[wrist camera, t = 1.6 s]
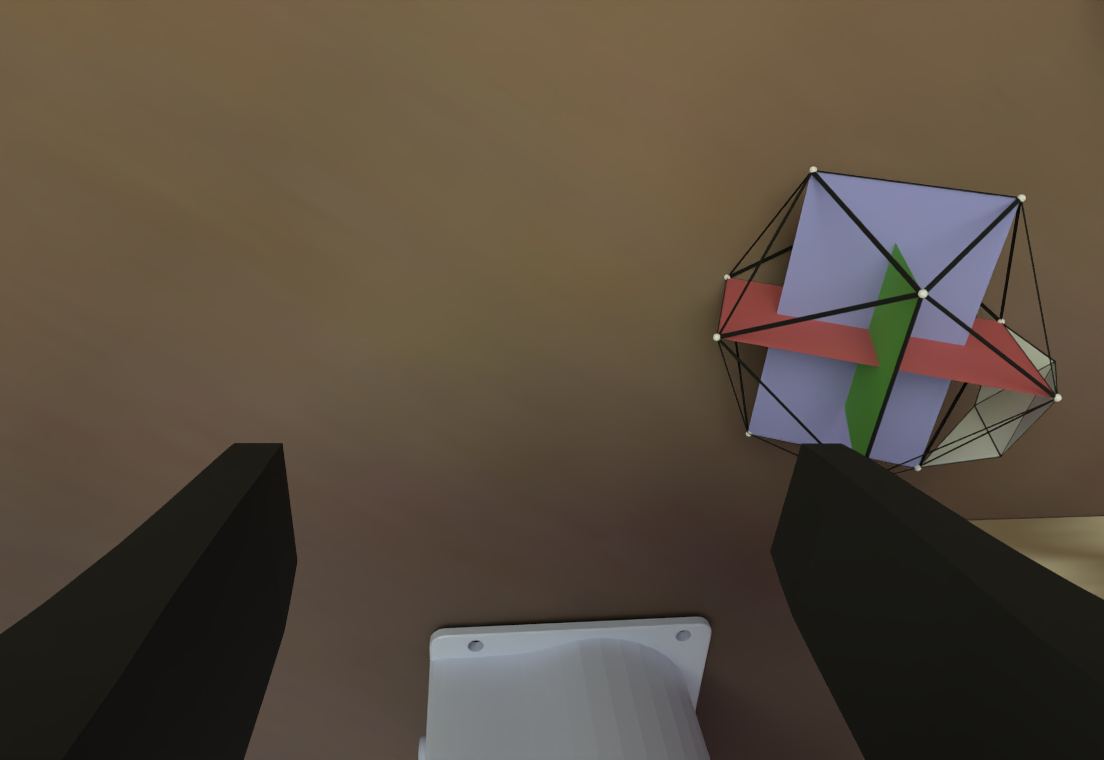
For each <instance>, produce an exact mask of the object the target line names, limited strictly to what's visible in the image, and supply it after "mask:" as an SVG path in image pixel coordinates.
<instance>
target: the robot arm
mask: <svg viewBox="0 0 1104 760" xmlns="http://www.w3.org/2000/svg"><path fill="white" fill-rule="evenodd" d="M770 552H771V555H772V558H773V561H774V564H775V567H776V571H777V574H778V577H779V580H780V583H781V586H782V589H783V591H784V594H785V597H786V600H787V602H788V605H789V608H790V611H791V613H792V616H793V618H794V620H795V622H796V624H797V626H798V628H799V630H800V632H801V634H802V636H803V638H804V640H805V642H806V644H807V646H808V648H809V650H810V652H811V654H812V656H813V658H814V660H815V662H816V664H817V666H818V668H819V670H820V672H821V674H822V676H823V678H824V680H825V682H826V684H827V686H828V688H829V690H830V692H831V694H832V696H833V697H834V699H835V701H836V703H837V705H838V707H839V709H840V711H841V713H842V715H843V717H844V719H845V721H846V723H847V725H848V727H849V729H850V731H851V733H852V735H853V737H854V739H855V741H856V742H857V744H858V746H859V748H860V750H861V752H862V754H863V756H864V758H865V760H1104V599H1102V598H1100V597H1098V596H1096V595H1094V594H1092V593H1091V592H1089V591H1087V590H1085V589H1083V588H1081V587H1079V586H1078V585H1076V584H1074V583H1072V582H1070V581H1068V580H1067V579H1065V578H1063V577H1062V576H1060V575H1058V574H1056V573H1055V572H1053V571H1051V570H1049V569H1048V568H1046V567H1044V566H1042V565H1041V564H1039V563H1037V562H1035V561H1034V560H1032V559H1030V558H1028V557H1027V556H1025V555H1023V554H1022V553H1020V552H1018V551H1016V550H1015V549H1013V548H1011V547H1010V546H1008V545H1006V544H1005V543H1003V542H1002V541H1000V540H998V539H997V538H995V537H993V536H992V535H990V534H988V533H987V532H985V531H983V530H982V529H980V528H979V527H977V526H975V525H974V524H972V523H971V522H969V521H967V520H966V519H964V518H963V517H961V516H959V515H958V514H956V513H955V512H953V511H952V510H950V509H948V508H947V507H945V506H944V505H942V504H941V503H939V502H937V501H936V500H934V499H933V498H931V497H930V496H928V495H926V494H925V493H923V492H922V491H920V490H919V489H917V488H915V487H914V486H912V485H911V484H909V483H908V482H906V481H905V480H903V479H901V478H900V477H898V476H897V475H895V474H893V473H892V472H890V471H889V470H887V469H885V468H884V467H882V466H881V465H879V464H877V463H876V462H874V461H872V460H871V459H869V458H867V457H866V456H864V455H862V454H860V453H859V452H857V451H855V450H853V449H851V448H849V447H847V446H846V445H844V444H842V443H802V444H801V447H800V451H799V454H798V458H797V461H796V465H795V468H794V472H793V475H792V478H791V482H790V485H789V489H788V492H787V496H786V499H785V503H784V506H783V509H782V513H781V516H780V520H779V523H778V527H777V530H776V534H775V537H774V540H773V544H772V547H771V551H770ZM296 566H297V554H296V546H295V538H294V530H293V523H292V515H291V507H290V499H289V491H288V483H287V475H286V467H285V459H284V451H283V444H282V443H234V444H233V445H232V446H230V447H229V448H228V449H227V450H226V451H224V452H223V453H222V454H221V455H220V456H219V457H218V458H217V459H215V460H214V461H213V462H212V463H211V464H210V465H209V466H208V467H206V468H205V469H204V470H203V471H202V472H201V473H200V474H199V475H197V476H196V477H195V478H194V479H193V480H192V481H191V482H190V483H188V484H187V485H186V486H185V487H184V488H183V489H182V490H181V491H180V492H178V493H177V494H176V495H175V496H174V497H173V498H172V499H171V500H169V501H168V502H167V503H166V504H165V505H164V506H163V507H162V508H160V509H159V510H158V511H157V512H156V513H155V514H154V515H152V516H151V517H150V518H149V519H148V520H147V521H145V522H144V523H143V524H142V525H141V526H140V527H138V528H137V529H136V530H135V531H134V532H133V533H131V534H130V535H129V536H128V537H127V538H126V539H124V540H123V541H122V542H121V543H120V544H119V545H117V546H116V547H115V548H113V549H112V550H111V551H110V552H108V553H107V554H106V555H105V556H103V557H102V558H101V559H100V560H98V561H97V562H96V563H94V564H93V565H92V566H91V567H89V568H88V569H87V570H86V571H84V572H83V573H82V574H80V575H79V576H78V577H77V578H75V579H74V580H73V581H72V582H70V583H69V584H68V585H66V586H65V587H64V588H63V589H61V590H60V591H59V592H58V593H56V594H55V595H54V596H53V597H51V598H50V599H49V600H47V601H46V602H45V603H43V604H42V605H41V606H39V607H38V608H36V609H35V610H34V611H32V612H31V613H30V614H28V615H27V616H26V617H24V618H23V619H21V620H20V621H18V622H17V623H16V624H14V625H13V626H11V627H10V628H9V629H7V630H6V631H4V632H3V633H1V634H0V760H244V757H245V754H246V751H247V748H248V745H249V741H250V738H251V735H252V732H253V729H254V726H255V723H256V720H257V716H258V713H259V710H260V707H261V704H262V701H263V698H264V695H265V692H266V688H267V685H268V682H269V679H270V676H271V673H272V669H273V666H274V663H275V660H276V657H277V653H278V650H279V647H280V644H281V641H282V637H283V634H284V631H285V626H286V620H287V615H288V610H289V605H290V600H291V594H292V589H293V583H294V577H295V572H296ZM683 630H685V631H683ZM680 631H683V632H680ZM710 638H711V627H710V625H709V622H708V621H707V620H706V619H705V618H703V617H678V618H656V619H635V620H613V621H592V622H570V623H549V624H527V625H505V626H484V627H462V628H444V629H439V630H437V631H435V632H434V633H433V634H432V635H431V637H430V672H429V692H428V712H427V731H426V735H424V736H421V737H420V741H419V754H418V760H710V757H709V754H708V751H707V748H706V745H705V741H704V738H703V735H702V732H701V729H700V726H699V723H698V719H697V716H696V713H695V710H696V705H697V700H698V696H699V691H700V686H701V681H702V677H703V672H704V667H705V662H706V657H707V653H708V648H709V643H710ZM475 640H477V641H480V642H471V641H475Z"/></svg>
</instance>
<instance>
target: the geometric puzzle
mask: <svg viewBox="0 0 1104 760" xmlns="http://www.w3.org/2000/svg"><path fill="white" fill-rule="evenodd" d="M809 171H810V173H809V174H808V175H807V177H806V178H805V179H804V180H803V182H802V183H801V184H800V185H799V187H798V188H797V189H796V191H795V192H794V193H793V194H792V196H791V197H790V198H789V199H788V201H787V202H786V203H785V204H784V206H783V207H782V208H781V209H780V211H779V212H778V213H777V215H776V216H775V217H774V218H773V220H772V221H771V222H770V223H769V225H768V226H767V227H766V228H765V230H764V231H763V232H762V234H761V235H760V236H759V237H758V239H757V240H756V241H755V242H754V244H753V245H752V246H751V247H750V249H749V250H748V251H747V253H746V254H745V255H744V256H743V258H742V259H741V260H740V261H739V263H738V264H737V265H736V266H735V268H734V269H733V270H732V272H731V273H730V274H729V275H728V274H726V275H725V276H724V279H725V280H726V285H725V291H724V297H723V303H722V308H721V314H720V320H719V326H718V331H717V334H714V336H713V339H714V340H715V341H718V344H719V347H720V350H721V353H722V356H723V360H724V363H725V366H726V369H727V372H728V375H729V378H730V381H731V384H732V387H733V390H734V386H733V383H732V380H731V377H730V374H729V371H728V368H727V365H726V362H725V359H724V355H723V352H722V349H721V346H720V343H721V344H722V345H723V346H724V347H725V348H726V349H727V350H728V351H729V352H730V353H731V354H732V355H733V356H734V357H735V358H736V359H737V361H738V368H739V375H740V383H741V390H742V398H743V405H744V413H745V421H746V424H745V421H744V418H743V414H742V411H741V408H740V405H739V402H738V399H737V396H736V393H735V390H734V394H735V397H736V400H737V403H738V406H739V409H740V412H741V415H742V418H743V421H744V424H745V427H746V431H747V432H746V436H748V437H750V436H751V435H752V436H754V435H756V436H761V437H766V438H770V439H775V440H780V441H785V442H790V443H795V444H800V445H801V444H802V443H842V444H844V445H846V446H847V447H849V448H851V449H853V450H855V451H857V452H859V453H860V454H862V455H864V456H866V457H867V458H869V459H874V460H879V461H884V462H889V463H894V464H898V465H896V466H894V467H892V468H889V469H887V470H891V469H893V468H896V467H898V466H901V465H903V466H908V467H913V469H915V470H916V471H920V470H921V468H923V467H930V466H938V465H946V464H953V463H961V462H968V461H976V460H984V459H991V458H999V457H1001V456H1002V455H1003V454H1004V453H1005V452H1006V451H1007V450H1008V449H1009V448H1010V447H1011V446H1012V445H1013V444H1014V443H1015V442H1016V441H1017V440H1018V439H1019V438H1020V437H1021V436H1022V435H1023V434H1024V433H1025V432H1026V431H1027V430H1028V429H1029V428H1030V427H1031V426H1032V425H1033V424H1034V423H1035V422H1036V421H1037V420H1038V419H1039V418H1040V417H1041V416H1042V415H1043V414H1044V413H1045V412H1046V411H1047V410H1048V409H1049V408H1050V407H1051V406H1052V405H1053V404H1054V403H1055V402H1058V401H1060V400H1061V399H1062V396H1061V395H1060V394H1058V391H1057V375H1056V361H1055V360H1053V359H1052V358H1051V357H1050V352H1049V346H1048V341H1047V335H1046V330H1045V324H1044V319H1043V313H1042V308H1041V302H1040V297H1039V291H1038V286H1037V280H1036V275H1035V269H1034V263H1033V258H1032V252H1031V247H1030V241H1029V236H1028V230H1027V225H1026V219H1025V214H1024V208H1023V203H1022V202H1024V201H1025V199H1026V197H1025V196H1024V195H1019V196H1017V197H1015V196H1007V195H1000V194H992V193H984V192H977V191H969V190H962V189H954V188H946V187H939V186H931V185H923V184H916V183H908V182H901V181H893V180H885V179H878V178H870V177H862V176H855V175H847V174H840V173H832V172H824V171H817V168H816V167H814V166H813V167H811V168H810V170H809ZM808 180H809V183H808V188H807V192H806V196H805V200H804V204H803V208H802V212H801V216H800V220H799V224H798V229H797V233H796V237H795V241H794V245H792V246H790V247H788V248H786V249H784V250H782V251H780V252H778V253H775V254H773V255H771V256H769V257H767V258H765V256H766V254H767V252H768V251H769V249H770V247H771V245H772V244H773V242H774V240H775V238H776V237H777V235H778V233H779V231H780V230H781V228H782V226H783V224H784V223H785V221H786V219H787V217H788V216H789V214H790V212H791V210H792V208H793V207H794V205H795V203H796V201H797V200H798V198H799V196H800V194H801V193H802V191H803V189H804V187H805V186H806V184H807V182H808ZM803 183H804V184H803ZM802 184H803V186H802ZM801 186H802V187H801ZM800 187H801V189H800V191H799V193H798V194H797V196H796V198H795V200H794V201H793V203H792V205H791V207H790V208H789V210H788V212H787V214H786V216H785V217H784V219H783V221H782V223H781V224H780V226H779V228H778V230H777V231H776V233H775V235H774V237H773V238H772V240H771V242H770V244H769V245H768V247H767V249H766V251H765V252H764V254H763V256H762V258H761V260H760V261H758V262H756V263H754V264H752V265H750V266H748V267H746V268H744V269H741V270H739V271H737V272H735V273H733V271H734V270H735V269H736V268H737V266H738V265H739V264H740V262H741V261H742V260H743V259H744V257H745V256H746V255H747V254H748V252H749V251H750V250H751V249H752V247H753V246H754V245H755V244H756V242H757V241H758V240H759V239H760V237H761V236H762V235H763V233H764V232H765V231H766V230H767V228H768V227H769V226H770V225H771V223H772V222H773V221H774V220H775V218H776V217H777V216H778V215H779V213H780V212H781V211H782V210H783V208H784V207H785V206H786V205H787V203H788V202H789V201H790V199H791V198H792V197H793V196H794V194H795V193H796V192H797V191H798V189H799V188H800ZM1021 206H1022V211H1023V217H1024V222H1025V228H1026V233H1027V239H1028V244H1029V250H1030V255H1031V261H1032V267H1033V272H1034V278H1035V283H1036V289H1037V294H1038V300H1039V305H1040V311H1041V316H1042V322H1043V327H1044V333H1045V338H1046V344H1047V349H1048V355H1049V356H1048V355H1046V354H1045V353H1044V352H1042V351H1041V350H1039V349H1038V348H1037V347H1035V346H1034V345H1032V344H1031V343H1030V342H1028V341H1027V340H1025V339H1024V338H1023V337H1021V336H1020V335H1019V334H1017V333H1016V332H1014V331H1013V330H1012V329H1010V328H1009V327H1007V326H1006V325H1005V324H1004V323H1005V320H1004V319H1002V317H1003V311H1004V305H1005V299H1006V293H1007V287H1008V281H1009V275H1010V268H1011V262H1012V256H1013V250H1014V244H1015V238H1016V232H1017V226H1018V220H1019V213H1020V207H1021ZM1016 210H1017V212H1016ZM1015 213H1016V218H1015V224H1014V230H1013V237H1012V243H1011V249H1010V256H1009V262H1008V268H1007V274H1006V281H1005V287H1004V293H1003V300H1002V306H1001V312H1000V319H999V318H998V317H997V316H996V315H995V314H994V313H993V312H992V311H991V310H990V309H988V308H987V307H986V306H985V305H984V304H983V303H982V299H983V297H984V294H985V291H986V289H987V286H988V283H989V281H990V278H991V276H992V273H993V270H994V268H995V265H996V263H997V260H998V257H999V255H1000V252H1001V250H1002V247H1003V244H1004V242H1005V239H1006V237H1007V234H1008V231H1009V229H1010V226H1011V223H1012V221H1013V218H1014V216H1015ZM791 249H792V253H791V257H790V261H789V265H788V270H787V274H786V278H785V282H784V286H776V285H770V284H764V283H758V282H752V279H753V277H754V275H755V274H756V272H757V270H758V268H759V267H760V265H761V263H764V262H766V261H768V260H770V259H772V258H774V257H776V256H778V255H781V254H783V253H785V252H787V251H789V250H791ZM764 258H765V259H764ZM755 266H757V267H756V268H755V270H754V272H753V274H752V275H751V277H750V279H749V281H746V280H740V279H733V278H732V277H734V276H736V275H738V274H740V273H742V272H744V271H747V270H749V269H751V268H753V267H755ZM732 273H733V274H732ZM980 306H981V307H982V308H983V309H984V310H986V311H987V312H988V313H989V314H990V315H991V316H992V317H993V318H994V319H995V320H996V321H992V320H985V319H979V318H975V317H976V315H977V312H978V310H979V307H980ZM721 339H726V340H732V341H735V345H736V353H737V355H736V354H735V353H734V352H733V351H732V350H731V349H730V348H729V347H728V346H727V345H726V344H725V343H724V342H723V341H722V340H721ZM737 341H738V342H743V343H749V344H754V345H760V346H765V347H768V352H767V356H766V360H765V364H764V368H763V372H762V376H761V380H760V379H759V378H758V377H757V376H756V375H755V374H754V373H753V372H752V371H751V370H750V369H749V368H748V367H747V366H746V365H745V364H744V363H743V362H742V361H741V360H740V358H739V352H738V345H737ZM719 342H720V343H719ZM740 364H741V365H742V366H743V367H744V368H745V369H746V370H747V371H748V372H749V373H750V374H751V375H752V376H753V377H754V378H755V379H756V380H757V381H758V382H759V383H760V384H759V388H758V393H757V397H756V401H755V405H754V409H753V413H752V417H751V421H750V425H749V428H748V420H747V413H746V405H745V398H744V390H743V382H742V375H741V367H740ZM951 380H955V381H961V382H964V384H963V386H962V388H961V389H960V391H959V393H958V395H957V396H956V398H955V400H954V402H953V403H952V405H951V407H950V409H949V410H948V412H947V414H946V416H945V417H944V419H943V421H942V423H941V424H940V426H939V428H938V430H937V431H936V433H935V435H934V437H933V438H932V440H931V442H930V444H929V445H928V447H927V449H926V451H925V452H924V450H925V448H926V445H927V443H928V440H929V437H930V435H931V432H932V430H933V427H934V424H935V422H936V419H937V416H938V414H939V411H940V409H941V406H942V403H943V401H944V398H945V396H946V393H947V390H948V388H949V385H950V383H951ZM967 383H972V384H978V385H981V386H980V389H979V393H978V396H977V399H976V402H975V405H974V407H973V408H972V409H971V410H970V411H969V412H968V413H967V414H966V415H965V417H964V418H963V419H962V420H961V421H960V422H959V423H958V424H957V425H956V427H955V428H954V429H953V430H952V431H951V432H950V433H949V434H948V435H947V436H946V438H945V439H944V440H943V441H942V442H941V443H940V444H939V445H938V446H937V447H936V449H934V450H932V451H930V452H929V450H930V448H931V446H932V445H933V443H934V441H935V439H936V438H937V436H938V434H939V432H940V431H941V429H942V427H943V425H944V424H945V422H946V420H947V418H948V417H949V415H950V413H951V411H952V410H953V408H954V406H955V404H956V403H957V401H958V399H959V397H960V396H961V394H962V392H963V390H964V389H965V387H966V385H967ZM756 436H754V437H756ZM756 438H758V439H761V438H759V437H756ZM761 440H763V439H761ZM763 441H765V440H763ZM765 442H767V443H770V442H768V441H765ZM770 444H772V443H770ZM772 445H774V444H772ZM774 446H776V447H779V446H777V445H774ZM779 448H781V447H779ZM781 449H783V448H781ZM783 450H785V451H787V452H790V451H788V450H786V449H783ZM931 452H932V453H931ZM790 453H792V452H790ZM923 453H924V454H923ZM929 453H931V454H930V455H929V456H928V457H927V458H926V460H925V461H924V462H923V460H924V459H925V457H926V455H927V454H929ZM792 454H794V455H796V456H798V455H797V454H795V453H792ZM922 462H923V463H922ZM909 470H912V469H909ZM905 471H908V470H905ZM905 471H901V472H905ZM901 472H897V473H901ZM897 473H893V474H897Z"/></svg>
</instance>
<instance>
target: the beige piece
mask: <svg viewBox="0 0 1104 760" xmlns="http://www.w3.org/2000/svg"><path fill="white" fill-rule="evenodd" d="M968 521H969V522H971V523H972V524H974V525H975V526H977V527H979V528H980V529H982V530H983V531H985V532H987V533H988V534H990V535H992V536H993V537H995V538H997V539H998V540H1000V541H1002V542H1003V543H1005V544H1006V545H1008V546H1010V547H1011V548H1013V549H1015V550H1016V551H1018V552H1020V553H1022V554H1023V555H1025V556H1027V557H1028V558H1030V559H1032V560H1034V561H1035V562H1037V563H1039V564H1041V565H1042V566H1044V567H1046V568H1048V569H1049V570H1051V571H1053V572H1055V573H1056V574H1058V575H1060V576H1062V577H1063V578H1065V579H1067V580H1068V581H1070V582H1072V583H1074V584H1076V585H1078V586H1079V587H1081V588H1083V589H1085V590H1087V591H1089V592H1091V593H1092V594H1094V595H1096V596H1098V597H1100V598H1102V599H1104V516H1093V517H1062V518H1031V519H999V520H968Z"/></svg>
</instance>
